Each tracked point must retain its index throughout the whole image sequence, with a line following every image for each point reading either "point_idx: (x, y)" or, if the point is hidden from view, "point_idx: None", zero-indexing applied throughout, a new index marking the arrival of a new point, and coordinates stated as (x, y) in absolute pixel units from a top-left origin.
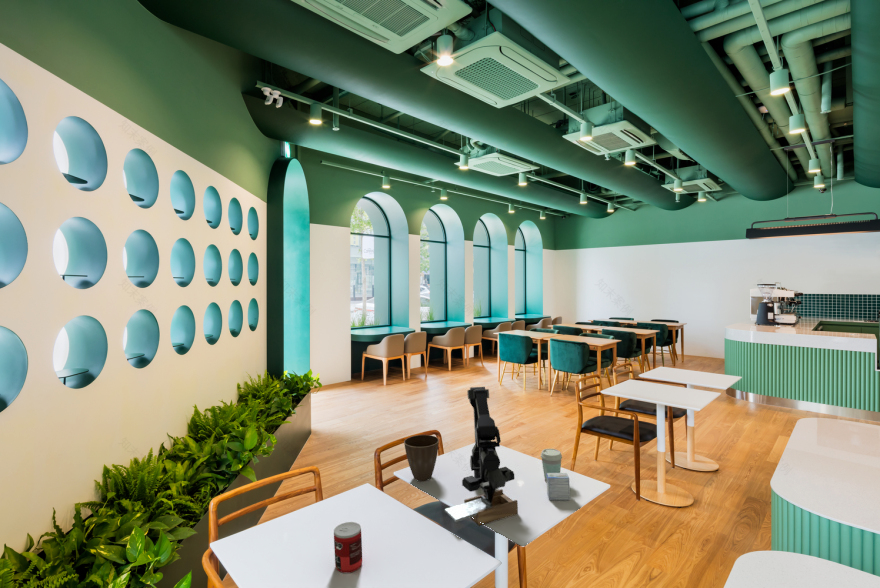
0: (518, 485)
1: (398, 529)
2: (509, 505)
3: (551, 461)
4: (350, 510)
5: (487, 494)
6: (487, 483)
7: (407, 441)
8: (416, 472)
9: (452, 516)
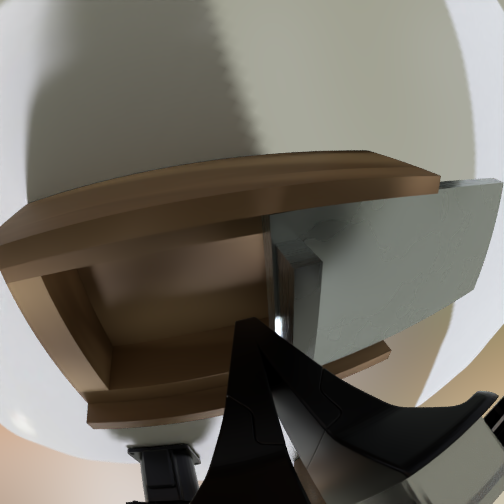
0: (27, 418)
1: (497, 257)
2: (55, 220)
3: None
4: (477, 339)
5: (334, 376)
6: (456, 494)
7: None
8: None
9: (495, 218)
